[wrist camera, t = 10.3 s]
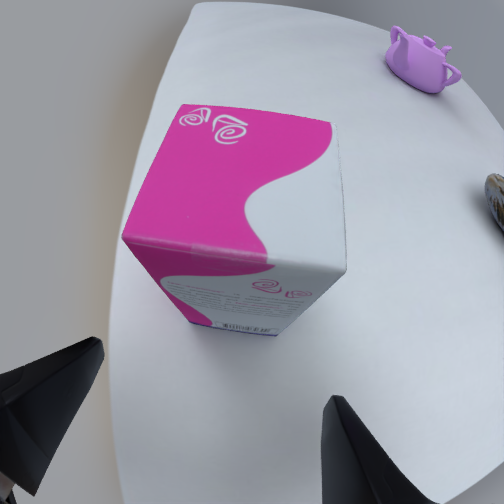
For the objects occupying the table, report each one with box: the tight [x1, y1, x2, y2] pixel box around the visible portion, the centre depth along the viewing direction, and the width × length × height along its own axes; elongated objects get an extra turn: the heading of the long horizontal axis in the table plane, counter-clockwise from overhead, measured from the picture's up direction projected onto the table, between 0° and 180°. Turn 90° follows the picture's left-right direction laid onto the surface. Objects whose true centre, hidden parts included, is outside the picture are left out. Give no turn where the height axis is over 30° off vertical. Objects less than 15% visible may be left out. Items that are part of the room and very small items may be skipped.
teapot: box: [386, 26, 461, 93], centre depth 29 cm, size 12×14×9 cm
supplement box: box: [122, 104, 347, 336], centre depth 12 cm, size 6×6×12 cm
